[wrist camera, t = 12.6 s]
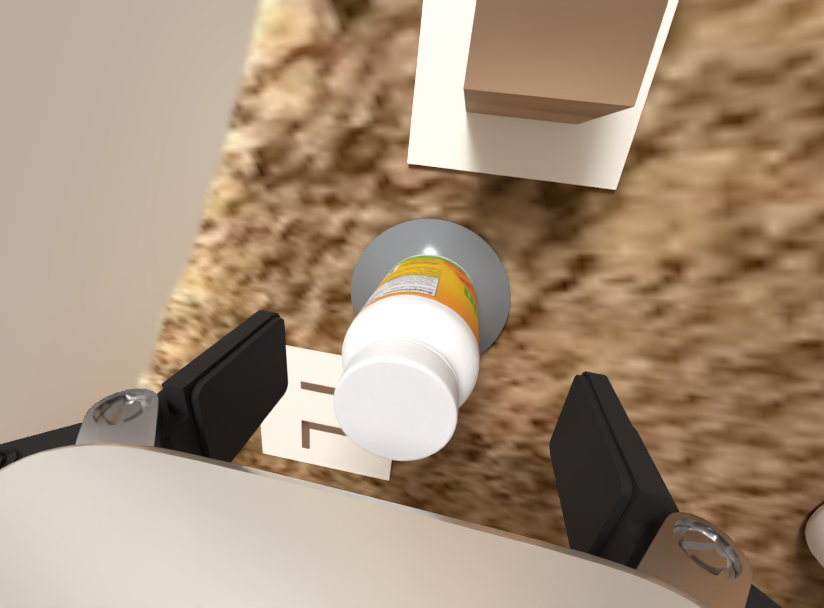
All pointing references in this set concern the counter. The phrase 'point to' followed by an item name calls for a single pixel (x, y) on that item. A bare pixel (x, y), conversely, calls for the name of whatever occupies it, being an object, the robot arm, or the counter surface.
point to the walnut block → (559, 57)
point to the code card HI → (508, 136)
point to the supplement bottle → (410, 360)
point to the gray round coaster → (447, 243)
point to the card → (315, 419)
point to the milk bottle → (816, 534)
